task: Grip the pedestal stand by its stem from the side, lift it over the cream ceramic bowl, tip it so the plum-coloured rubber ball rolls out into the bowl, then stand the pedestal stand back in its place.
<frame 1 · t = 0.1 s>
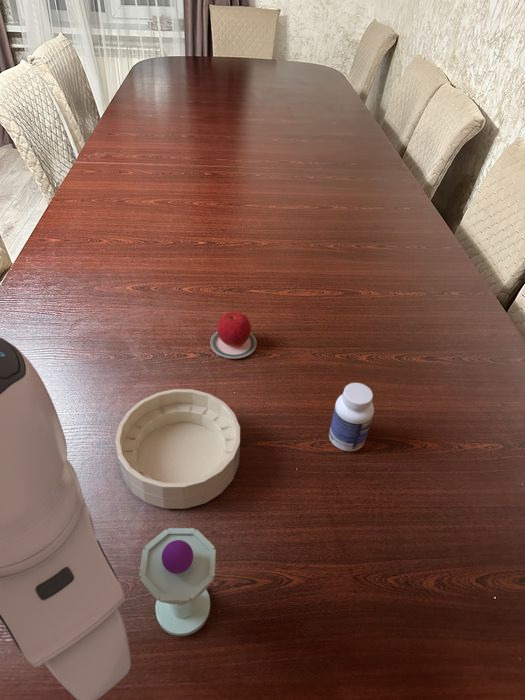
hand: (60, 606, 45), 13 cm above the table, tool pointing down, fingers open, 8 cm apart
bowl: (180, 458, 73), on the table
apple: (233, 345, 91), on the table
pill bottle: (346, 438, 77), on the table
pedestal stand: (183, 607, 58), on the table, touching ball
ball: (177, 556, 50), point 12 cm above the table, touching pedestal stand
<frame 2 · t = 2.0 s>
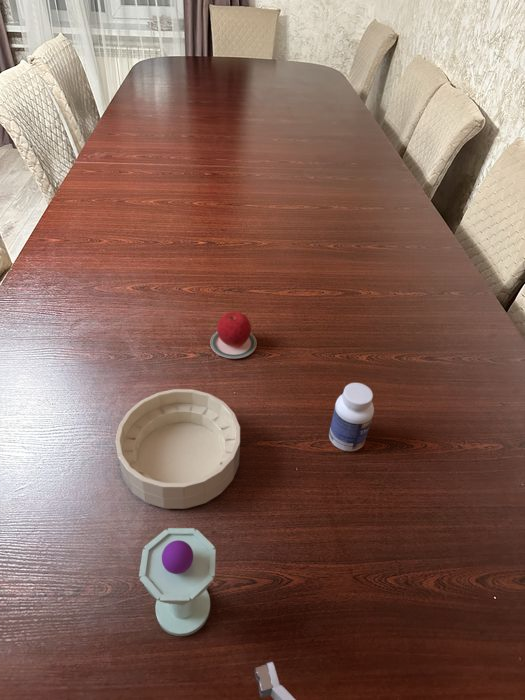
hand: (203, 685, 39), 15 cm above the table, tool horizontal, fingers open, 8 cm apart
nothing on the table moved.
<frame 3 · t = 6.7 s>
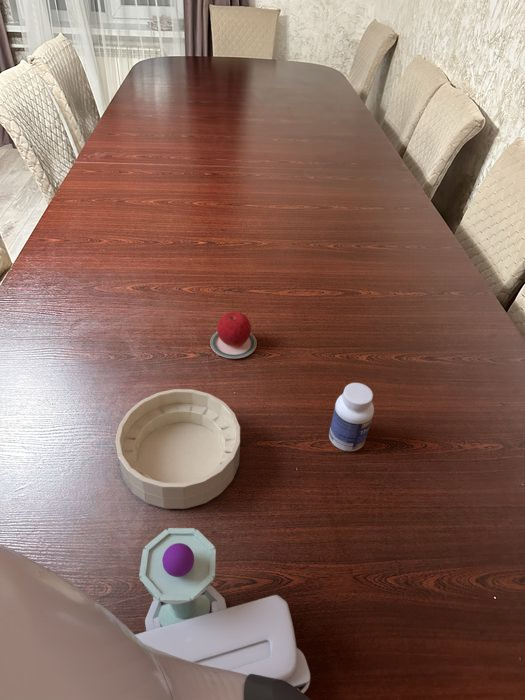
hand: (179, 580, 55), 5 cm above the table, tool horizontal, fingers closed on pedestal stand, 3 cm apart
pedestal stand: (183, 607, 58), on the table, touching ball, gripper
ball: (178, 559, 50), point 12 cm above the table, tilted 13°, touching pedestal stand
everything else where it was.
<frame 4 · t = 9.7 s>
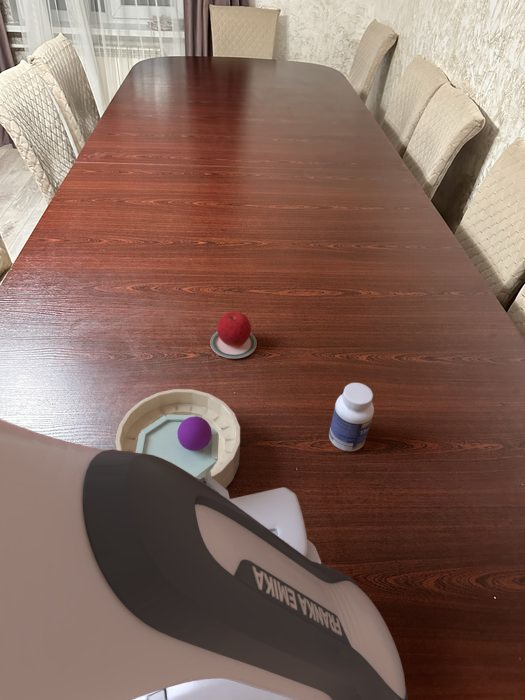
hand: (179, 475, 51), 17 cm above the table, tool horizontal, fingers closed on pedestal stand, 3 cm apart
pedestal stand: (183, 510, 54), point 12 cm above the table, touching ball, gripper
ball: (194, 433, 46), point 24 cm above the table, tilted 59°, touching pedestal stand
everything else where it was.
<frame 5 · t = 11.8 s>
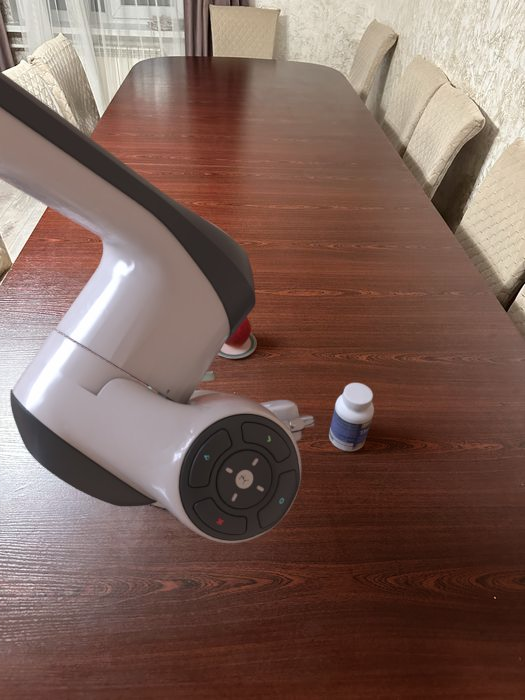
hand: (187, 428, 56), 16 cm above the table, tool tilted 45°, fingers closed on pedestal stand, 3 cm apart
pedestal stand: (195, 476, 56), point 13 cm above the table, tilted 45°, touching gripper
ball: (177, 424, 75), point 2 cm above the table, tilted 97°, touching bowl
everything else where it was.
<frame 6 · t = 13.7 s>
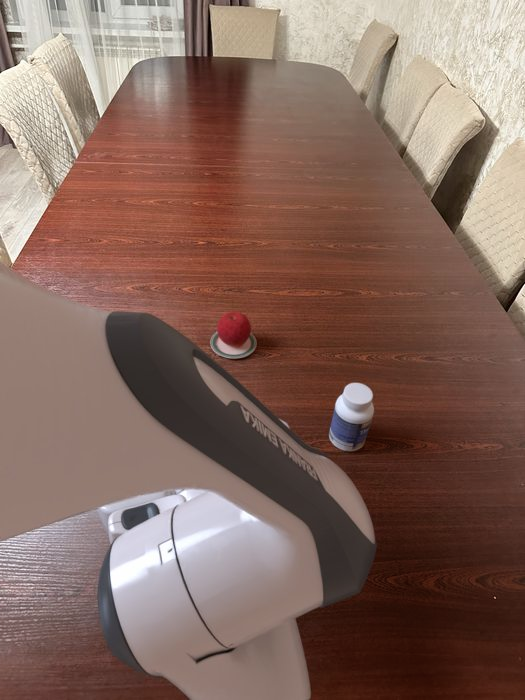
hand: (182, 411, 56), 17 cm above the table, tool horizontal, fingers closed on pedestal stand, 3 cm apart
pedestal stand: (186, 447, 59), point 12 cm above the table, touching gripper
ball: (170, 430, 74), point 2 cm above the table, tilted 49°, touching bowl
everything else where it was.
when the fingers open (5 cm above the table, at t = 19.5 s): pedestal stand stays where it is, on the table.
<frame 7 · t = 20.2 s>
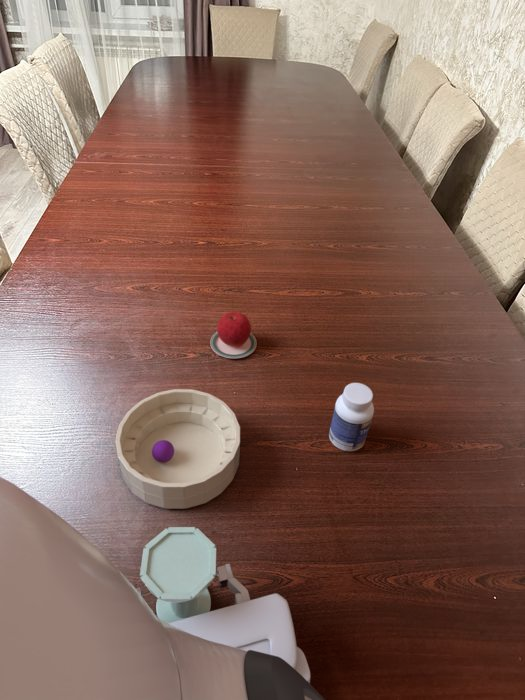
hand: (179, 578, 55), 5 cm above the table, tool horizontal, fingers open, 8 cm apart
pedestal stand: (183, 606, 58), on the table
ball: (163, 451, 71), point 2 cm above the table, tilted 92°, touching bowl
everything else where it was.
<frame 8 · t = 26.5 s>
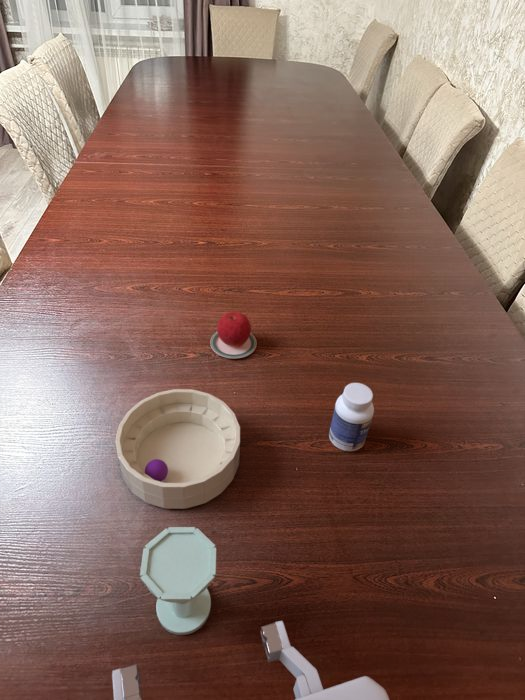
hand: (200, 647, 33), 24 cm above the table, tool horizontal, fingers open, 8 cm apart
ball: (156, 470, 69), point 2 cm above the table, tilted 145°, touching bowl
everything else where it was.
at the end: ball inside the target area in the bowl (4.4 cm from its centre), point 2.0 cm above the bowl's base; pedestal stand tilted 0°; the gripper is holding nothing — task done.
